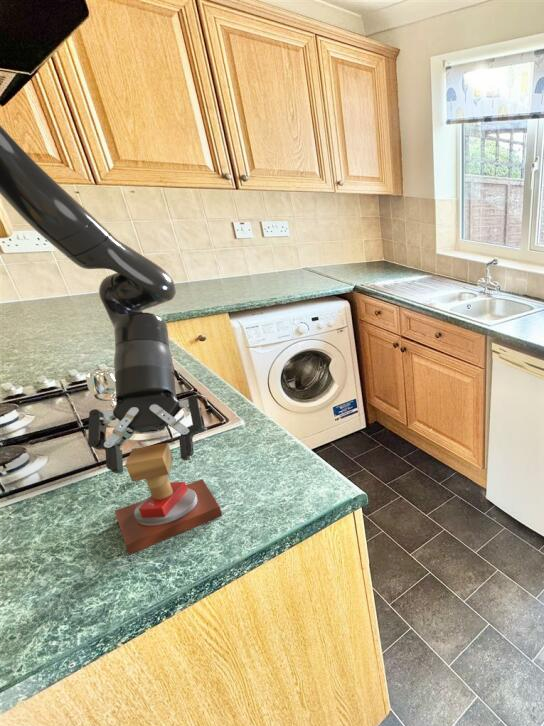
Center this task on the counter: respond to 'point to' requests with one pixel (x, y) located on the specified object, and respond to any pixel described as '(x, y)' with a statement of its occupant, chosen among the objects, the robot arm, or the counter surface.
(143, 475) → the stamp
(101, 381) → the wineglass
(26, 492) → the counter surface
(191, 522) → the stamp stand
